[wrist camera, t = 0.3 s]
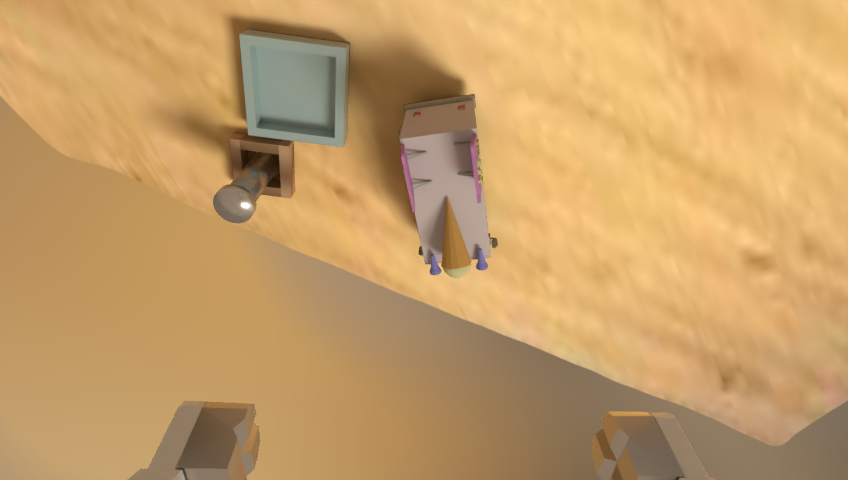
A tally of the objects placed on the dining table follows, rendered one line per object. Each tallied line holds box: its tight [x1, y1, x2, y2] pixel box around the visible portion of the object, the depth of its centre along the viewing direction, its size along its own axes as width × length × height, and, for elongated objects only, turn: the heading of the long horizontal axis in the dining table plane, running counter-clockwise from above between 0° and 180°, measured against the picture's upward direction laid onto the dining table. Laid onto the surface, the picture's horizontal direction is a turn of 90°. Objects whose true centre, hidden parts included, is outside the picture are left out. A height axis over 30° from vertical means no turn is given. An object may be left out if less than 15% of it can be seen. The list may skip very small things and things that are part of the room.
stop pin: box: [213, 152, 279, 223], centre depth 56 cm, size 4×4×11 cm
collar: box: [229, 132, 295, 198], centre depth 59 cm, size 7×7×2 cm
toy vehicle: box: [398, 94, 498, 278], centre depth 54 cm, size 9×20×15 cm, turn 10°
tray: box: [239, 29, 350, 147], centre depth 54 cm, size 11×11×2 cm
